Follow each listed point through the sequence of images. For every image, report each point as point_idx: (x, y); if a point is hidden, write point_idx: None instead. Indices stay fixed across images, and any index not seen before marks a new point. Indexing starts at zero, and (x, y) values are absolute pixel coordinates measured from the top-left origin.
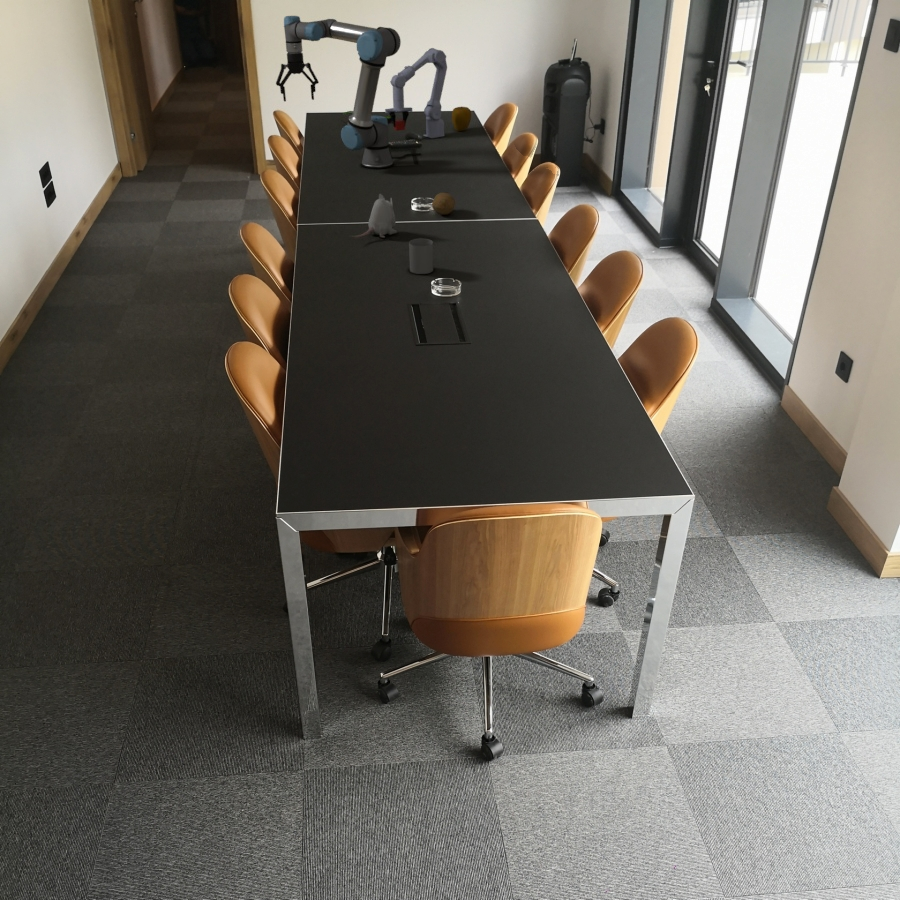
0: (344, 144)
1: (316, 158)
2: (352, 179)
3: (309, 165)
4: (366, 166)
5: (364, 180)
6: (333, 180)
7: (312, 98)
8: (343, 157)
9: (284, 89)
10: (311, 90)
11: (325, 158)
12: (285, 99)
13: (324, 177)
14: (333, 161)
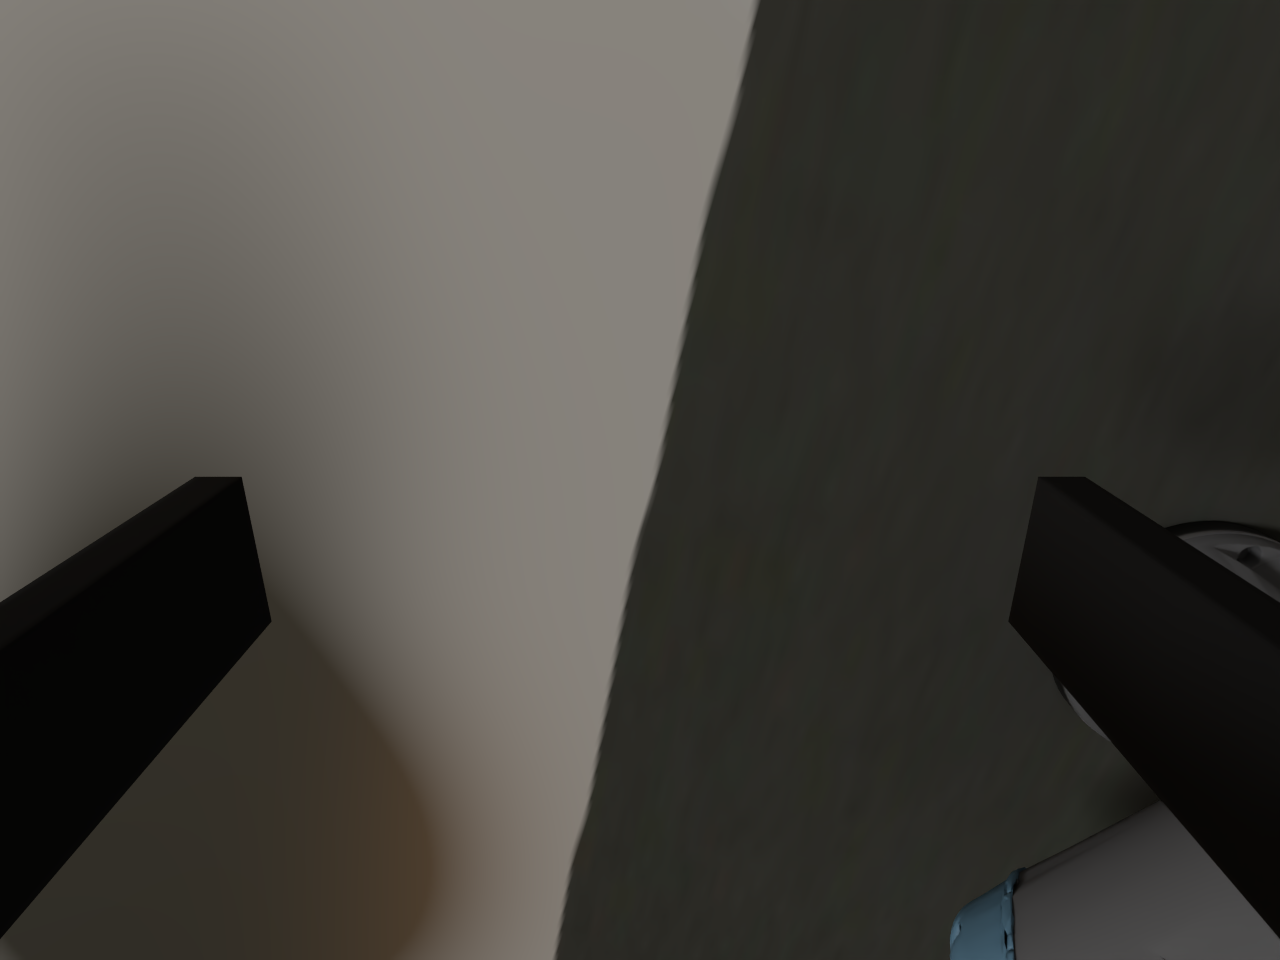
0: (951, 931)
1: (766, 270)
2: (861, 884)
3: (656, 492)
4: (1063, 695)
5: (924, 917)
6: (740, 875)
7: (1028, 640)
8: (1020, 310)
9: (22, 897)
10: (1182, 744)
11: (848, 296)
12: (236, 649)
13: (699, 807)
14: (885, 424)
